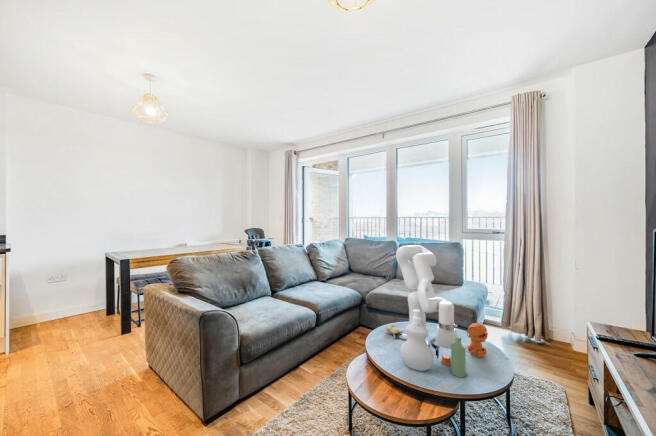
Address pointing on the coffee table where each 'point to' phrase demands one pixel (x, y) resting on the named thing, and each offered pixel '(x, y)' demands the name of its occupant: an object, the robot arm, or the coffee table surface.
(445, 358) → the cap
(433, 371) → the coffee table surface
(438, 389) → the coffee table surface
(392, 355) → the coffee table surface
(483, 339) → the orange sculpture
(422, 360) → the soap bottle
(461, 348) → the bottle
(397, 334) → the figurine
